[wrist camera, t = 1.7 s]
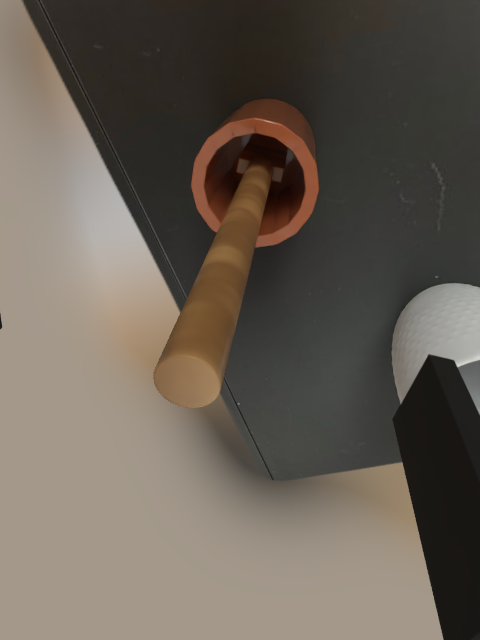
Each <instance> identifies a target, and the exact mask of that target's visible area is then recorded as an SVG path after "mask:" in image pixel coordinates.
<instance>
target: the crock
mask: <svg viewBox="0 0 480 640" xmlns="http://www.w3.org/2000/svg"><path fill="white" fill-rule="evenodd" d="M246 144H252V145H257V146H261V147H265V148H269V149H274V150H278V151H282V152H286V153H287V157H286V164H285V170H284V174H283V178H282V182H276V181H271V184H270V188H269V192H268V196H267V200H266V205H265V209H264V213H263V217H262V221H261V225H260V229H259V234H258V238H257V242H256V246H255V247H262V246H269V245H275V244H278V243H280V242H282V241H284V240H285V239H287V238H289V237H291V236H293V235H294V234H296V232H298V231H299V230H300V228H301V227H302V226H303V225H304V223H305V222H306V221H307V220H308V218H309V217H310V216H311V214H312V213H313V209H314V206H315V203H316V199H317V196H318V193H319V181H318V171H317V160H316V149H315V140H314V134H313V132H312V130H311V127H310V125H309V123H308V122H307V120H306V119H305V117H304V116H303V115H302V114H301V113H300V112H299V111H298V110H297V109H296V108H294V107H293V106H291V105H290V104H288V103H286V102H283V101H280V100H276V99H259V100H255V101H251V102H249V103H246V104H245V105H243V106H242V107H240V108H239V109H238V110H237V111H235V112H234V113H233V114H231V115H230V116H229V117H228V118H227V119H226V120H225V121H224V122H223V123H222V124H221V125H220V126H219V127H218V128H217V129H216V130H215V131H214V132H213V133H212V134H211V135H210V136H209V137H208V139H207V140H206V141H205V143H204V145H203V147H202V148H201V150H200V152H199V153H198V155H197V157H196V159H195V161H194V167H193V174H192V182H191V188H192V192H193V196H194V200H195V203H196V207H197V209H198V211H199V213H200V214H201V216H202V217H203V218H204V220H205V221H206V223H207V224H208V226H209V227H210V228H211V229H212V230H213V231H215V232H216V233H217V232H218V230H219V227H220V225H221V223H222V221H223V219H224V216H225V214H226V212H227V210H228V208H229V205H230V203H231V201H232V199H233V197H234V195H235V192H236V190H237V188H238V186H239V184H240V181H241V179H242V177H243V175H244V174H241V173H237V172H236V169H237V164H238V159H239V157H240V155H241V153H242V152H243V150H244V148H245V146H246Z"/></svg>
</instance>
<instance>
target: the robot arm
mask: <svg viewBox="0 0 480 640" xmlns="http://www.w3.org/2000/svg"><path fill="white" fill-rule="evenodd" d="M1 328H2V323H1V316H0V329H1ZM393 423H394V427H395V432H396V436H397V440H398V445H399V449H400V453H401V458H402V462H403V466H404V470H405V475H406V479H407V483H408V487H409V492H410V496H411V501H412V504H413V509H414V513H415V518H416V522H417V527H418V531H419V535H420V540H421V544H422V548H423V552H424V557H425V560H426V565H427V570H428V574H429V578H430V583H431V587H432V591H433V596H434V600H435V604H436V608H437V612H438V617H439V622H440V625H441V630H442V634H443V639H444V640H480V414H479V412H478V410H477V408H476V406H475V404H474V401H473V399H472V397H471V395H470V393H469V391H468V389H467V386H466V384H465V382H464V380H463V378H462V376H461V374H460V372H459V369H458V367H457V365H456V363H455V361H454V360H452V359H448V358H443V357H439V356H435V355H430V354H428V356H427V358H426V360H425V362H424V363H423V365H422V367H421V369H420V371H419V372H418V374H417V376H416V378H415V380H414V381H413V383H412V385H411V387H410V389H409V390H408V392H407V394H406V396H405V398H404V399H403V401H402V403H401V405H400V407H399V408H398V410H397V412H396V414H395V416H394V418H393Z"/></svg>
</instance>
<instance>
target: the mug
mask: <svg viewBox="0 0 480 640" xmlns="http://www.w3.org/2000/svg"><path fill="white" fill-rule="evenodd" d="M428 354H430V355H435V356H439V357H443V358H448V359H452V360H454V361H455V363H456V365H457V367H458V369H459V372H460V374H461V376H462V378H463V380H464V382H465V384H466V386H467V389H468V391H469V393H470V395H471V397H472V399H473V401H474V404H475V406H476V408H477V410H478V412H479V414H480V287H475V286H472V285H469V284H460V283H448V284H441V285H436V286H433V287H430V288H428V289H426V290H424V291H422V292H421V293H419V294H418V295H416V296H415V297H414V298H413V299H412V300H411V301H410V302H409V303H408V304H407V305H406V306H405V308H404V309H403V311H402V312H401V314H400V316H399V318H398V320H397V323H396V325H395V330H394V334H393V341H392V352H391V355H392V366H393V375H394V377H395V385H396V387H397V393H398V397H399V399H400V404H401V403H402V401H403V399H404V398H405V396H406V394H407V392H408V390H409V389H410V387H411V385H412V383H413V381H414V380H415V378H416V376H417V374H418V372H419V371H420V369H421V367H422V365H423V363H424V362H425V360H426V358H427V356H428Z"/></svg>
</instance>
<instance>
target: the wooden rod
mask: <svg viewBox="0 0 480 640" xmlns="http://www.w3.org/2000/svg"><path fill="white" fill-rule="evenodd" d="M286 157H287V153H286V152H282V151H278V150H274V149H269V148H265V147H261V146H257V145H252V144H246V146H245V148H244V150H243V152H242V153H241V155H240V157H239V159H238V164H237V169H236V172H237V173H241V174H244V175H243V177H242V179H241V181H240V184H239V186H238V188H237V190H236V192H235V195H234V197H233V199H232V201H231V203H230V205H229V208H228V210H227V212H226V214H225V216H224V219H223V221H222V223H221V225H220V227H219V230H218V232H217V234H216V236H215V238H214V241H213V243H212V245H211V247H210V249H209V252H208V254H207V256H206V258H205V260H204V263H203V265H202V267H201V269H200V271H199V273H198V276H197V278H196V280H195V282H194V284H193V287H192V289H191V291H190V293H189V295H188V298H187V300H186V302H185V304H184V306H183V309H182V311H181V313H180V315H179V317H178V320H177V322H176V324H175V326H174V328H173V330H172V333H171V335H170V337H169V339H168V342H167V344H166V346H165V348H164V350H163V352H162V355H161V357H160V359H159V361H158V363H157V366H156V368H155V371H154V383H155V386H156V388H157V389H158V391H159V393H160V394H161V395H162V396H163V397H164V398H166V399H167V400H168V401H170V402H172V403H173V404H176V405H178V406H182V407H187V408H199V407H204V406H206V405H208V404H210V403H212V402H213V401H214V400H215V399H216V398H217V397H218V395H219V394H220V391H221V387H222V383H223V379H224V375H225V370H226V366H227V362H228V358H229V354H230V350H231V346H232V341H233V337H234V333H235V329H236V325H237V321H238V317H239V312H240V308H241V304H242V300H243V296H244V292H245V287H246V283H247V279H248V275H249V271H250V267H251V263H252V258H253V254H254V250H255V246H256V242H257V238H258V234H259V229H260V225H261V221H262V217H263V213H264V209H265V205H266V200H267V196H268V192H269V188H270V184H271V181H276V182H282V178H283V174H284V170H285V164H286Z"/></svg>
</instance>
